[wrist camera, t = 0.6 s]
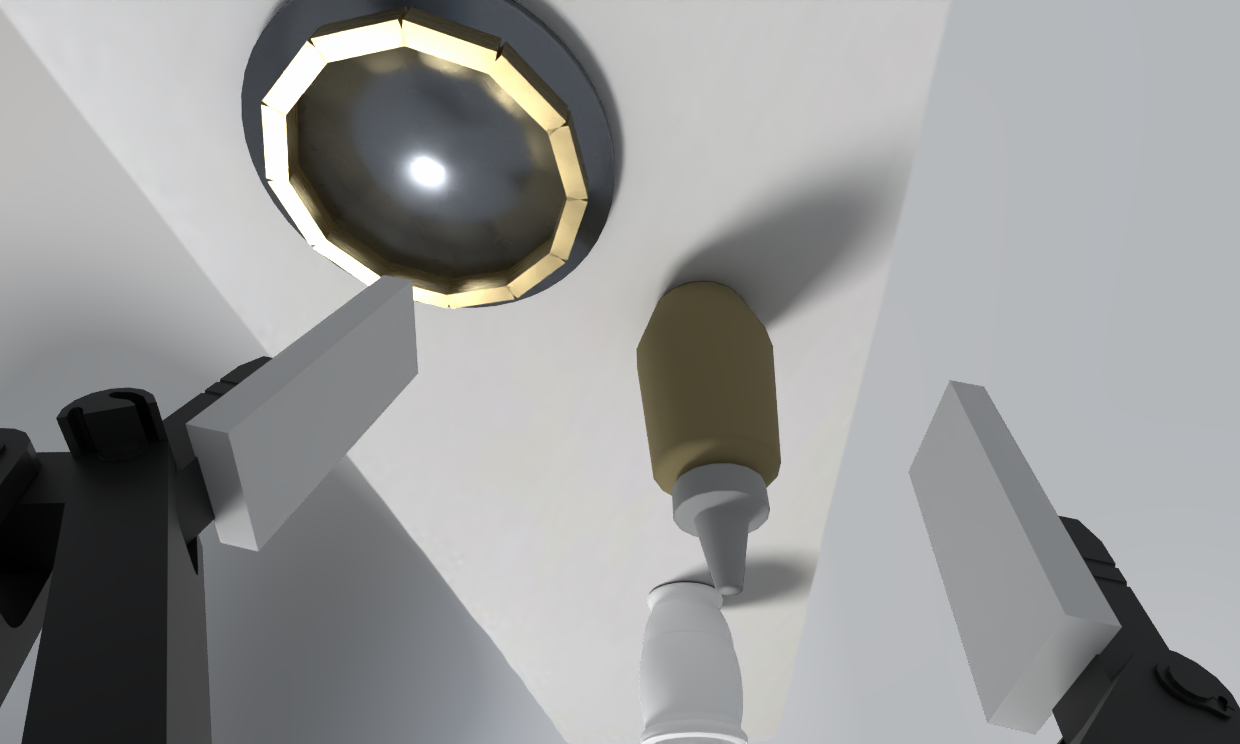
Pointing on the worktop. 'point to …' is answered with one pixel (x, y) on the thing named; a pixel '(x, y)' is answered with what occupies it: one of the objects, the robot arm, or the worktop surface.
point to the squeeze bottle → (711, 419)
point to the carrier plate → (431, 143)
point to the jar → (689, 670)
